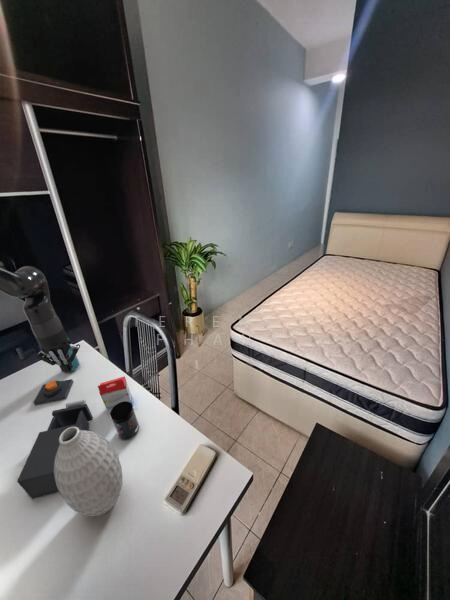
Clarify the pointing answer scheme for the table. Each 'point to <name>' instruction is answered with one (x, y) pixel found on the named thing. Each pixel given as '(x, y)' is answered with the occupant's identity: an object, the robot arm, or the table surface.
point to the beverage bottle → (75, 361)
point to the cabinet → (42, 464)
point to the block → (54, 392)
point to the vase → (87, 472)
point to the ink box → (115, 392)
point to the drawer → (71, 415)
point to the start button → (51, 386)
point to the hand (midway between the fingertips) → (68, 370)
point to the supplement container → (124, 420)
